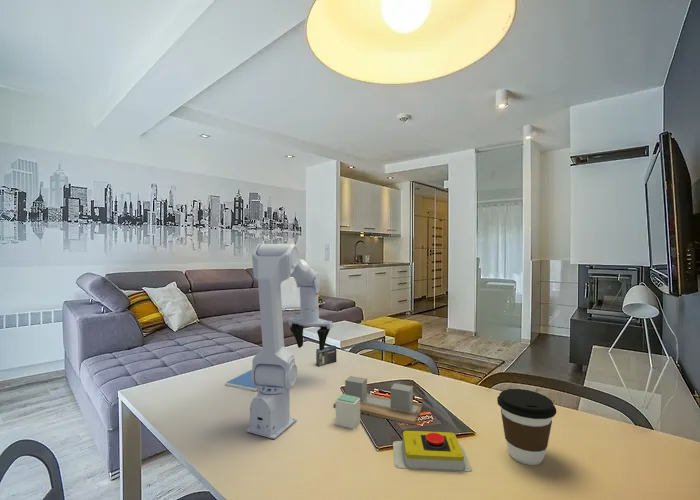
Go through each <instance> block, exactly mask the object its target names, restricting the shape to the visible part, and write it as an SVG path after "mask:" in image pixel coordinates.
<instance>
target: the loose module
mask: <svg viewBox="0 0 700 500" xmlns="http://www.w3.org/2000/svg"><path fill="white" fill-rule="evenodd" d="M335 403H336V408H335V425H336V426H340V427H345V428H348V429H353V430H356V428H357V427H358V426H359V424H360V423H361V413H360V398H359V397H355V396H350V395H345V393H342V394H341V395H340V396H338V398H337V399H335Z"/></svg>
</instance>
